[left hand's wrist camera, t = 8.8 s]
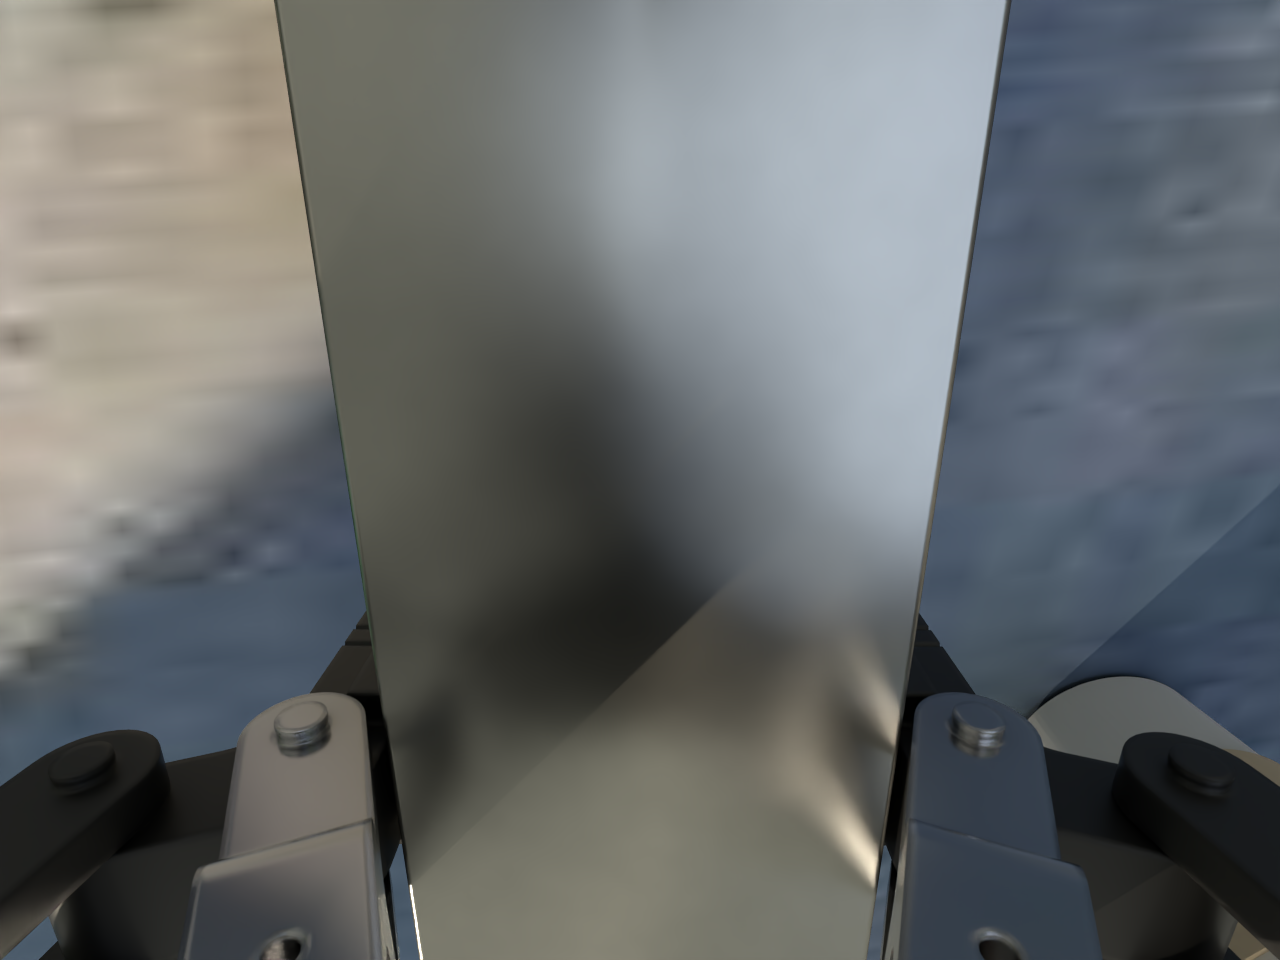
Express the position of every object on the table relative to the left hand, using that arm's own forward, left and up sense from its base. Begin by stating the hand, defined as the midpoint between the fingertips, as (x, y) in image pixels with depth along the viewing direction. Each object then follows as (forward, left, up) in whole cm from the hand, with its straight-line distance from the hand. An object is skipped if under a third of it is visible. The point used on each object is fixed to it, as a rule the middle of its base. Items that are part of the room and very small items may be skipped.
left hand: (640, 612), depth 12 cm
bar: (-7, +4, -4) cm, 9 cm away
